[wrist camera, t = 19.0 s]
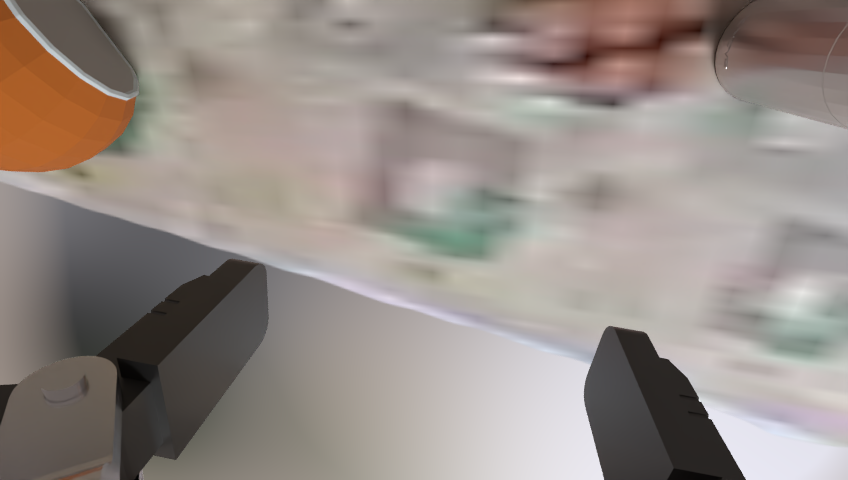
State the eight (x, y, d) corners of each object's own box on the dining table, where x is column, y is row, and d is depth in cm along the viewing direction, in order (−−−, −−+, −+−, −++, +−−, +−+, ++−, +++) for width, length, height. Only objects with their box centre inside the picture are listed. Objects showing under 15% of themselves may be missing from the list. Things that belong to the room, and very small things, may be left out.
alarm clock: (-38, 23, 47) (-295, 20, 31) (60, -80, 42) (-191, -145, 26) (94, 175, 53) (-65, 236, 38) (195, 103, 48) (57, 138, 32)
